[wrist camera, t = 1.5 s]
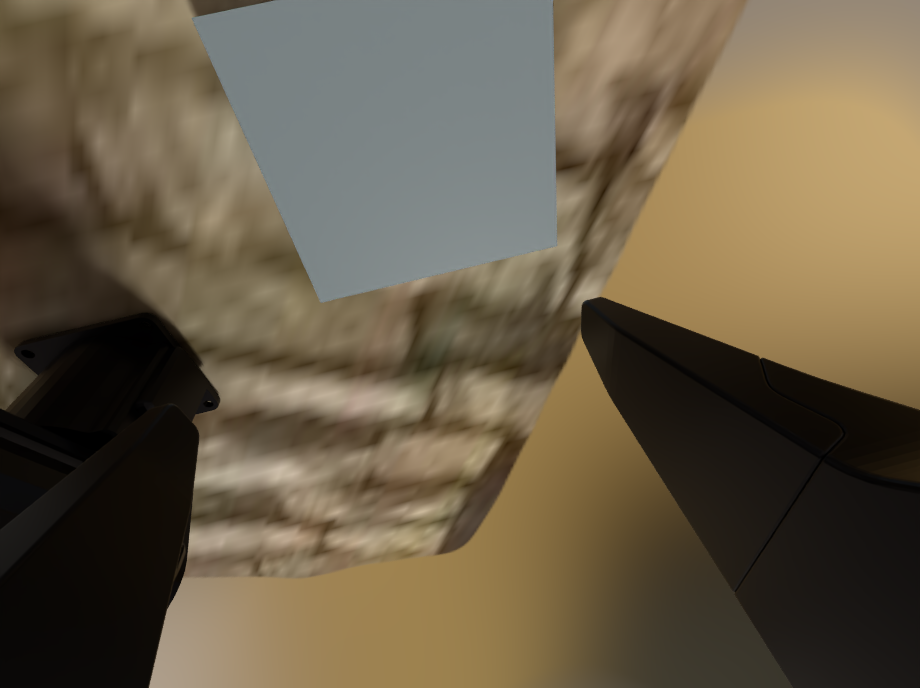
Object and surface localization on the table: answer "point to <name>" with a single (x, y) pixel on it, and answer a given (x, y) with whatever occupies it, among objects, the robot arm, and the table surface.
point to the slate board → (396, 130)
